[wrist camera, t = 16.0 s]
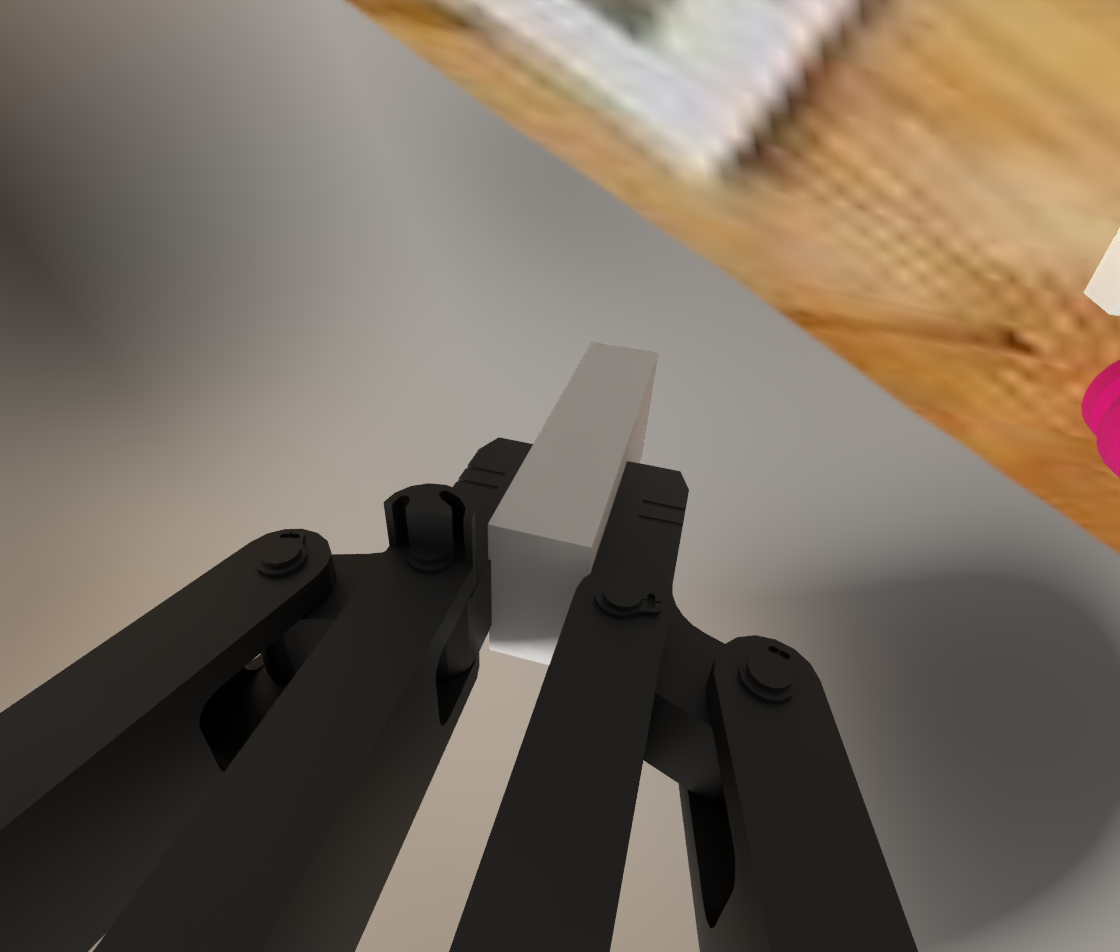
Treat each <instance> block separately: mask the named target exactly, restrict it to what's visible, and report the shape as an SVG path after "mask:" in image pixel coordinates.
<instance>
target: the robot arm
mask: <svg viewBox="0 0 1120 952" xmlns="http://www.w3.org/2000/svg"><path fill="white" fill-rule="evenodd" d="M657 357H658V353H655V352H650V351H643V350H637V349H631V348H625V347H619V346H613V345H607V344H601V343H595V342H591V344H590V346H589V347H588V349H587V351H586V353H585V354H584V356H583V358H582V360H581V361H580V363H579V365H578V367H577V368H576V370H575V372H574V374H573V375H572V377H571V379H570V381H569V382H568V384H567V386H566V388H565V389H564V391H563V393H562V395H561V396H560V398H559V400H558V402H557V403H556V405H555V407H554V409H553V411H552V412H551V414H550V416H549V418H548V419H547V421H546V423H545V425H544V426H543V428H542V430H541V432H540V433H539V435H538V437H537V439H536V440H535V442H534V444H529V443H524V442H519V441H514V440H509V439H504V438H497V439H496V440H494V441H492V442H490V443H489V444H487V445H485V446H484V447H482V448H480V449H479V450H478V452H477V453H476V454H475V456H474V457H473V459H472V460H471V461H470V463H469V464H468V468H467V469H465V470H464V472H463V473H462V475H461V476H460V477H459V481H458V482H456V483H455V485H454V486H453V487H450V486H447V485H440V484H423V485H415V486H410V487H408V488H405V489H403V490H400V491H398V492H396V493H394V494H393V495H392V496H391V497H389V498H388V499H387V500H386V501H385V502H384V509H385V516H386V523H387V531H388V537H389V545H390V546H389V547H388V549H387V550H386V551H385V552H382V553H373V554H342V555H341V554H336V555H332V554H331V550H330V547H329V544H328V541H327V540H326V539H324V538H323V537H322V536H321V535H319V534H318V533H316V532H312V531H308V530H304V529H284V530H280V531H276V532H272V533H268V534H265V535H264V536H262V537H260V538H258V539H256V540H254V541H252V542H250V543H249V544H247V545H246V546H244V547H243V548H241V549H240V550H238V551H237V552H235V553H234V554H232V555H231V556H230V557H228V558H227V559H225V560H224V561H222V562H221V563H219V564H218V565H216V566H215V567H213V568H212V569H211V570H209V571H208V572H206V573H205V574H203V575H202V576H200V577H199V578H197V579H196V580H194V581H193V582H192V583H190V584H189V585H187V586H186V587H184V588H183V589H182V590H180V591H179V592H177V593H175V594H174V595H173V596H171V597H170V598H168V599H167V600H165V601H164V602H162V603H161V604H159V605H158V606H156V607H155V608H154V609H152V610H151V611H149V612H148V613H146V614H145V615H143V616H142V617H140V618H139V619H137V620H136V621H135V622H133V623H131V624H130V625H129V626H127V627H126V628H124V629H123V630H121V631H120V632H118V633H117V634H115V635H114V636H112V637H111V638H110V639H108V640H107V641H105V642H104V643H102V644H101V645H99V646H98V647H96V648H95V649H93V650H92V651H90V652H89V653H88V654H86V655H85V656H83V657H82V658H80V659H79V660H77V661H76V662H74V663H73V664H71V665H70V666H69V667H67V668H66V669H64V670H63V671H61V672H60V673H58V674H57V675H55V676H54V677H52V678H51V679H50V680H48V681H47V682H45V683H44V684H42V685H41V686H39V687H38V688H36V689H35V690H33V691H32V692H31V693H29V694H28V695H26V696H25V697H23V698H22V699H20V700H19V701H17V702H16V703H14V704H13V705H11V706H10V707H9V708H7V709H6V710H4V711H3V712H1V713H0V952H88V951H89V950H90V949H91V948H92V947H93V946H94V945H95V944H96V943H97V942H98V941H99V940H100V939H101V938H102V937H103V936H104V935H105V934H106V935H105V936H104V937H103V938H102V940H101V941H100V943H99V944H98V945H97V947H96V948H95V950H94V951H93V952H355V950H356V948H357V945H358V943H359V941H360V939H361V936H362V934H363V932H364V930H365V927H366V925H367V923H368V921H369V918H370V916H371V914H372V911H373V910H374V907H375V905H376V903H377V901H378V898H379V896H380V894H381V892H382V889H383V887H384V885H385V883H386V880H387V878H388V876H389V874H390V871H391V869H392V867H393V865H394V863H395V860H396V858H397V856H398V854H399V851H400V849H401V847H402V844H403V842H404V840H405V838H406V836H407V833H408V831H409V829H410V827H411V824H412V822H413V820H414V818H415V815H416V813H417V811H418V809H419V807H420V804H421V802H422V800H423V797H424V795H425V793H426V791H427V789H428V786H429V784H430V782H431V780H432V777H433V775H434V773H435V770H436V769H437V766H438V764H439V762H440V759H441V757H442V755H443V752H444V751H445V748H446V746H447V744H448V742H449V739H450V737H451V735H452V733H453V730H454V728H455V726H456V724H457V722H458V719H459V717H460V715H461V713H462V710H463V708H464V706H465V704H466V701H467V699H468V697H469V695H470V692H471V690H472V688H473V686H474V683H475V681H476V679H477V675H478V670H479V651H480V649H481V647H482V645H483V642H484V640H485V638H486V636H487V634H488V632H489V639H490V641H489V643H490V650H493V651H497V652H501V653H505V654H508V655H512V656H516V657H520V658H523V659H527V660H531V661H535V662H539V663H542V664H547V665H549V667H548V670H547V673H546V676H545V679H544V682H543V684H542V687H541V690H540V693H539V696H538V699H537V702H536V705H535V708H534V710H533V713H532V716H531V719H530V722H529V725H528V728H527V730H526V733H525V736H524V739H523V742H522V745H521V747H520V750H519V753H518V756H517V759H516V762H515V765H514V768H513V771H512V773H511V776H510V779H509V782H508V785H507V788H506V791H505V793H504V796H503V799H502V802H501V805H500V808H499V810H498V813H497V816H496V819H495V822H494V825H493V828H492V830H491V833H490V836H489V839H488V842H487V845H486V848H485V850H484V853H483V856H482V859H481V862H480V865H479V868H478V870H477V873H476V876H475V879H474V882H473V885H472V888H471V891H470V894H469V897H468V899H467V902H466V905H465V908H464V911H463V913H462V917H461V919H460V922H459V925H458V928H457V931H456V933H455V936H454V940H453V942H452V945H451V948H450V951H449V952H610V947H611V941H612V935H613V930H614V924H615V919H616V913H617V907H618V901H619V896H620V890H621V884H622V879H623V873H624V867H625V861H626V855H627V849H628V844H629V838H630V833H631V827H632V821H633V816H634V810H635V804H636V799H637V793H638V787H639V781H640V775H641V770H642V764H643V760H644V761H646V762H647V763H649V764H650V765H652V766H653V767H655V768H656V769H658V770H659V771H661V772H662V773H664V774H665V775H667V776H668V777H670V778H671V779H673V780H675V781H676V782H678V783H679V791H680V799H681V807H682V815H683V822H684V830H685V838H686V845H687V854H688V862H689V870H690V877H691V886H692V893H693V901H694V908H695V917H696V924H697V933H698V941H699V948H700V952H918V950H917V947H916V945H915V942H914V939H913V936H912V934H911V931H910V928H909V925H908V922H907V920H906V917H905V914H904V911H903V909H902V906H901V903H900V900H899V897H898V895H897V892H896V889H895V886H894V884H893V881H892V878H891V875H890V873H889V870H888V867H887V864H886V862H885V859H884V856H883V853H882V850H881V848H880V845H879V842H878V839H877V836H876V834H875V831H874V828H873V825H872V823H871V820H870V817H869V814H868V812H867V809H866V806H865V803H864V801H863V798H862V795H861V792H860V789H859V787H858V784H857V781H856V778H855V775H854V773H853V770H852V767H851V764H850V762H849V759H848V756H847V753H846V750H845V748H844V745H843V742H842V739H841V737H840V734H839V731H838V728H837V726H836V723H835V720H834V717H833V715H832V712H831V709H830V706H829V703H828V701H827V698H826V695H825V692H824V690H823V687H822V684H821V681H820V679H819V678H818V676H817V674H816V672H815V671H814V669H813V667H812V666H811V664H810V663H809V662H808V661H807V660H806V659H805V658H804V657H803V656H801V655H800V654H799V653H798V652H797V651H796V650H795V649H793V648H791V647H789V646H787V645H785V644H783V643H781V642H779V641H777V640H775V639H770V638H766V637H760V636H756V635H755V636H746V637H737V638H735V639H733V640H731V641H730V642H728V643H726V644H724V643H722V642H720V641H719V640H717V639H715V638H713V637H711V636H709V635H707V634H706V633H704V632H702V631H701V630H699V629H698V628H696V627H695V626H693V625H692V624H691V623H690V622H689V621H688V620H687V619H686V618H685V617H684V616H683V615H682V614H681V612H680V610H679V609H678V608H677V606H676V604H675V601H674V598H673V595H672V584H673V578H674V573H675V567H676V561H677V555H678V549H679V544H680V538H681V532H682V526H683V521H684V515H685V509H686V503H687V498H688V492H689V489H688V487H687V485H686V483H685V481H684V478H683V476H682V474H681V472H680V471H675V470H670V469H665V468H660V467H655V466H650V465H645V464H640V460H641V457H642V451H643V445H644V439H645V432H646V426H647V420H648V414H649V408H650V401H651V395H652V389H653V383H654V376H655V370H656V363H657ZM259 654H260V655H259ZM258 655H259V656H258ZM257 656H258V657H257ZM255 657H257V658H255ZM254 658H255V659H254ZM253 659H254V660H253Z"/></svg>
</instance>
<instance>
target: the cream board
mask: <svg viewBox="0 0 1120 952" xmlns="http://www.w3.org/2000/svg"><path fill="white" fill-rule="evenodd" d="M1084 294H1086V295H1087V296H1088V297H1089V298H1090V299H1092V300H1093V301H1094V302H1095V303H1096V304H1098V305H1099V306H1100V307H1101V308H1102V309H1104V310H1105V311H1106V312H1107V313H1108V314H1110V315H1117V316H1120V228H1119V230H1118V231H1117V233H1116V235H1115V237H1114V239H1113V240H1112V242H1111V244H1110V246H1109V248H1108V249H1107V251H1106V253H1105V255H1104V257H1103V258H1102V260H1101V262H1100V264H1099V266H1098V267H1097V269H1096V271H1095V273H1094V275H1093V276H1092V278H1091V280H1090V282H1089V284H1088V285H1087V287H1086V289H1085V291H1084Z"/></svg>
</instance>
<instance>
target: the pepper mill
mask: <svg viewBox="0 0 1120 952" xmlns="http://www.w3.org/2000/svg"><path fill="white" fill-rule="evenodd" d="M1082 415H1083V418H1084V421H1085V423H1086V424H1087V426H1088V427H1089V428H1090V430H1091V431H1092V432H1093V433H1094V434H1095V436H1096V437H1097V448H1098V452H1099V454H1100V456H1101V458H1102V460H1103V462H1104V463H1105V464H1106V465H1107V466H1108V467H1109V469H1111V470H1112V471H1113V472H1114V473H1115V474H1116V475H1117V476H1118V477H1119V478H1120V360H1119V361H1117V362H1116V363H1114V364H1112V365H1110V366H1109V367H1108V368H1106V369H1105V370H1104V371H1103V372H1101V373H1100V374H1099V375H1098V376H1097V377H1096V378H1095V379H1094V380H1093V382H1092V383H1091V384H1090V386H1089V387H1088V389H1087V391H1086V393H1085V395H1084V397H1083V401H1082Z"/></svg>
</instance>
